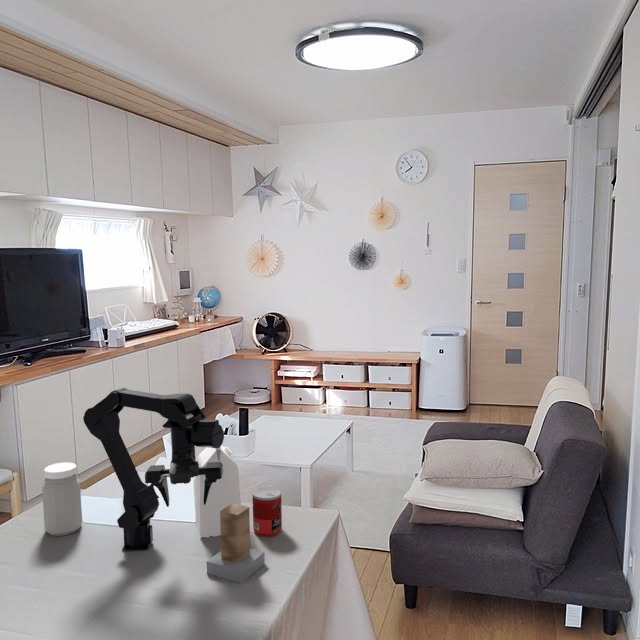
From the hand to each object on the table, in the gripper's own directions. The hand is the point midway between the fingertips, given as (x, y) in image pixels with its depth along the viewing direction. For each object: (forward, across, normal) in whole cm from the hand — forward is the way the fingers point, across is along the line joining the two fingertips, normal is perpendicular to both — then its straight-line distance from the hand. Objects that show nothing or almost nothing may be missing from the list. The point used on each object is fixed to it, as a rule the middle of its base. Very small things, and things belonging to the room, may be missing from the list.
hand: (186, 505), depth 154 cm
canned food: (+14, +20, +12) cm, 27 cm away
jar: (+12, -37, +18) cm, 43 cm away
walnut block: (+10, +12, -8) cm, 18 cm away
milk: (+13, +6, +16) cm, 22 cm away
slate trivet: (+13, +12, -8) cm, 20 cm away
